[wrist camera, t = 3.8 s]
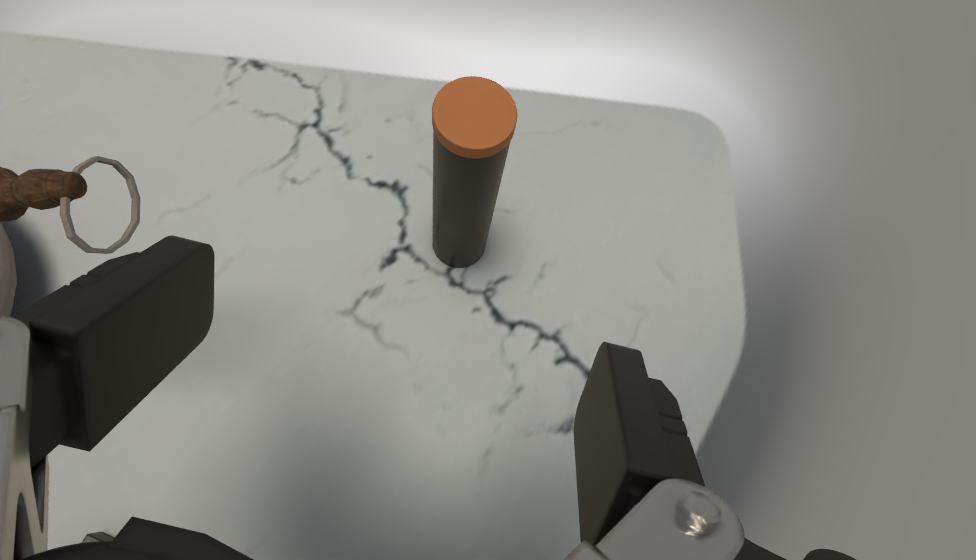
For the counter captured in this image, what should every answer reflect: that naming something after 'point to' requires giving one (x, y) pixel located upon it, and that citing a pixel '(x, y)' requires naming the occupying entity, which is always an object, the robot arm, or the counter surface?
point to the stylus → (468, 164)
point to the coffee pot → (44, 189)
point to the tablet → (97, 537)
